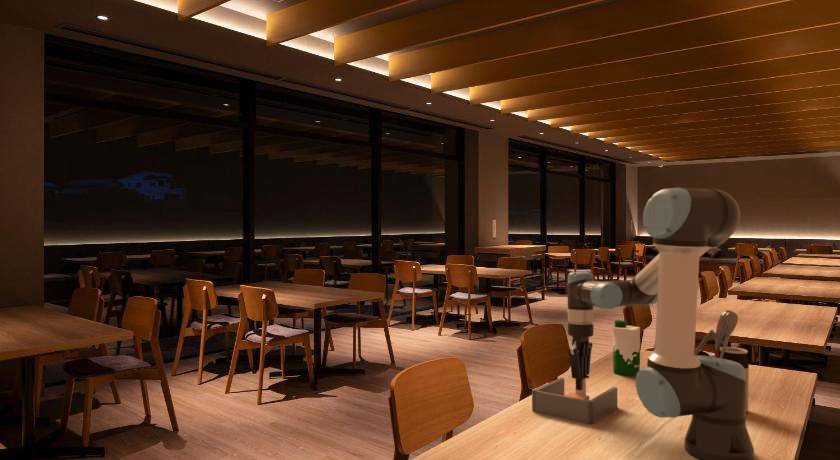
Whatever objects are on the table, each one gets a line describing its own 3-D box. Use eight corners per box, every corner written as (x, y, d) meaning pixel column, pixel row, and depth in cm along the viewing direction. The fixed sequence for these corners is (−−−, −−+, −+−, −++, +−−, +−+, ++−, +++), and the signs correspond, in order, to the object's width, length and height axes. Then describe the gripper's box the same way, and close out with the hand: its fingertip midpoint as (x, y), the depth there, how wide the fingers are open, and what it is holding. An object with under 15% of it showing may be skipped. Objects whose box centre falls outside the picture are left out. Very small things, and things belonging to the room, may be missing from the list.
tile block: (581, 414, 164) (580, 400, 164) (562, 410, 168) (561, 396, 168) (589, 409, 169) (589, 396, 169) (570, 405, 172) (570, 392, 172)
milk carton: (618, 371, 213) (617, 319, 213) (642, 375, 208) (642, 321, 208) (610, 376, 206) (610, 322, 206) (635, 380, 201) (635, 324, 201)
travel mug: (735, 415, 162) (736, 353, 162) (711, 407, 169) (712, 347, 169) (754, 412, 165) (755, 351, 165) (730, 404, 172) (730, 345, 172)
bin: (591, 424, 155) (591, 402, 155) (532, 410, 167) (532, 390, 167) (617, 407, 170) (617, 387, 170) (560, 396, 181) (560, 377, 181)
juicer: (673, 390, 176) (709, 302, 170) (707, 401, 176) (744, 313, 170) (685, 405, 166) (724, 312, 161) (721, 416, 166) (761, 324, 161)
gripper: (577, 318, 179) (578, 392, 179) (559, 324, 169) (559, 402, 169) (600, 321, 174) (601, 397, 174) (583, 326, 164) (583, 407, 164)
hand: (580, 399), depth 171 cm, fingers closed
